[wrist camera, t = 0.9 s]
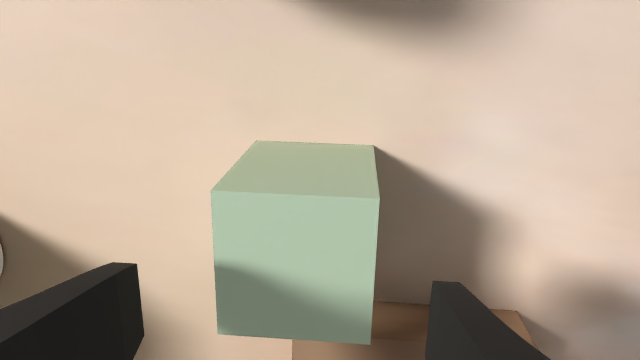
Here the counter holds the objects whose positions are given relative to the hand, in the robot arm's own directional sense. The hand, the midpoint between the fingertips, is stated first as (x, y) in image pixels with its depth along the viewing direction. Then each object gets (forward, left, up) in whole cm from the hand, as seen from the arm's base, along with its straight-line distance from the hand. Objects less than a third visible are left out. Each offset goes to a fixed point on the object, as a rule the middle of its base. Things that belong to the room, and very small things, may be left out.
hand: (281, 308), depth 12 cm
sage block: (0, 0, -8) cm, 8 cm away
